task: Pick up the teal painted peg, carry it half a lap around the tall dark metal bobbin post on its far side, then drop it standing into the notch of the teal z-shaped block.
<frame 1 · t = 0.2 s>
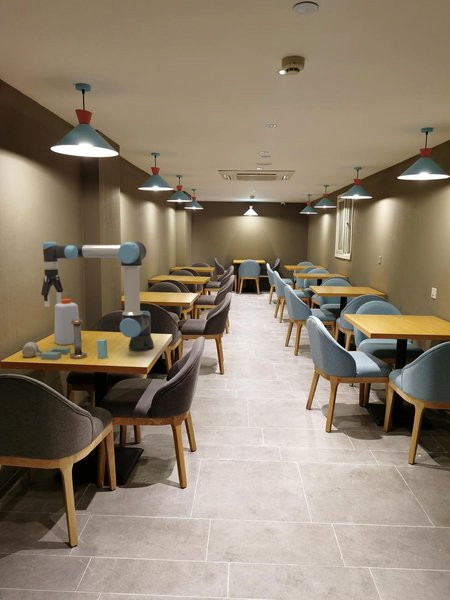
hand: (53, 304, 271), 28 cm above the table, tool pointing down, fingers open, 13 cm apart
bobbin: (78, 356, 262), on the table
plastic bottle: (68, 342, 297), on the table
teal z-shaped block: (55, 355, 264), on the table
ceramic mug: (33, 356, 264), on the table
peg: (102, 357, 260), on the table
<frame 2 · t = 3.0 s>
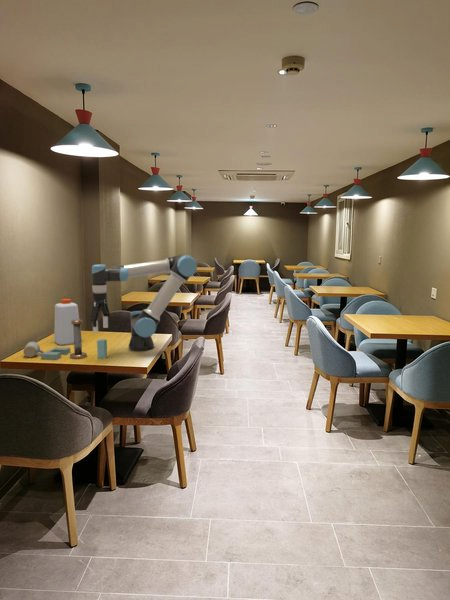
hand: (100, 330, 258), 16 cm above the table, tool pointing down, fingers open, 13 cm apart
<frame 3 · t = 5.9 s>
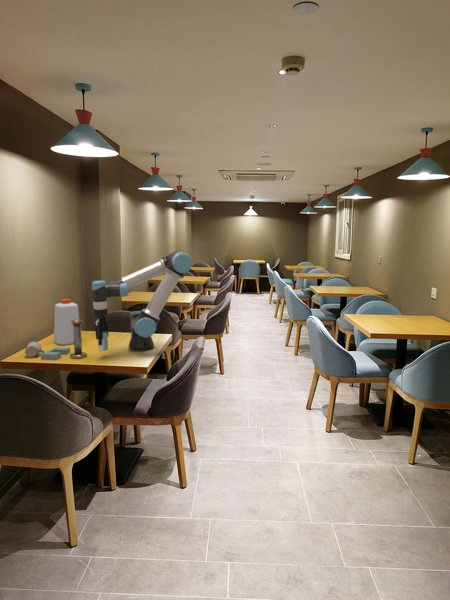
hand: (103, 349, 260), 5 cm above the table, tool pointing down, fingers closed on peg, 4 cm apart
peg: (103, 349, 260), point 4 cm above the table, touching gripper
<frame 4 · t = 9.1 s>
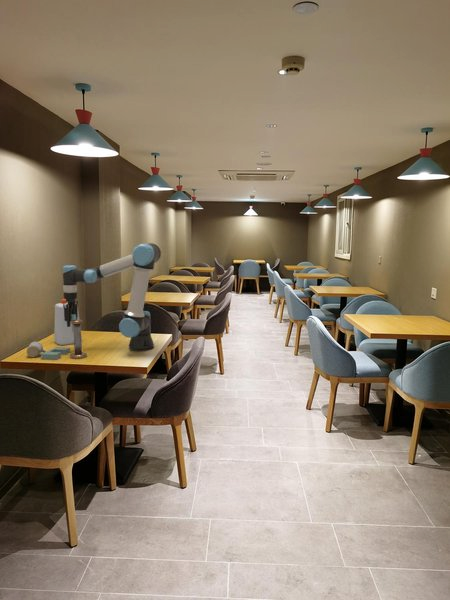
hand: (71, 331, 273), 12 cm above the table, tool pointing down, fingers closed on peg, 4 cm apart
peg: (71, 331, 273), point 12 cm above the table, touching gripper
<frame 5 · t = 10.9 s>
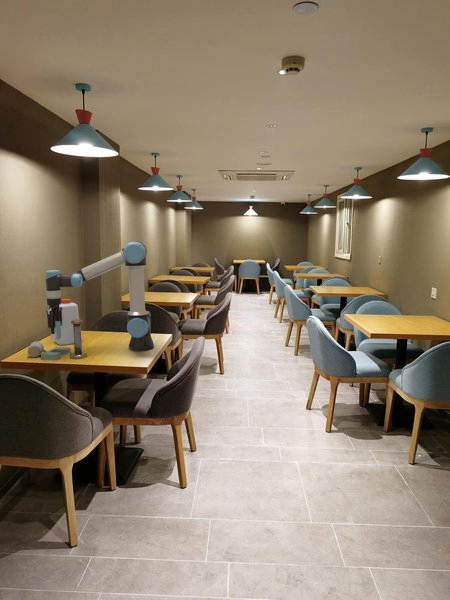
hand: (56, 338, 262), 10 cm above the table, tool pointing down, fingers closed on peg, 4 cm apart
peg: (56, 338, 262), point 10 cm above the table, touching gripper
when the fingers open (4 cm above the table, at t = 12.4 s): peg drops 4 cm, resting in teal z-shaped block.
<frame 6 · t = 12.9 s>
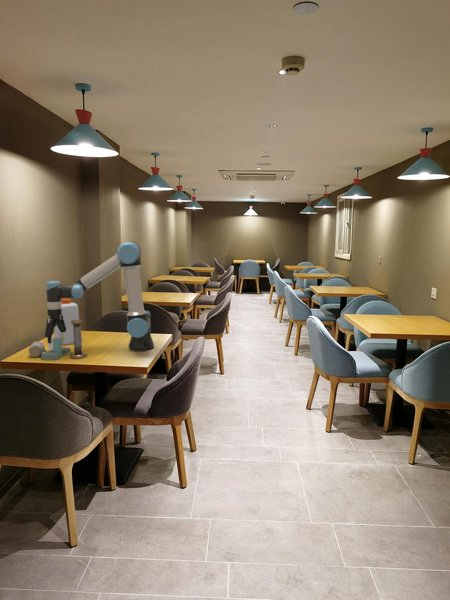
hand: (56, 345, 263), 6 cm above the table, tool pointing down, fingers open, 12 cm apart
peg: (57, 355, 264), resting in teal z-shaped block
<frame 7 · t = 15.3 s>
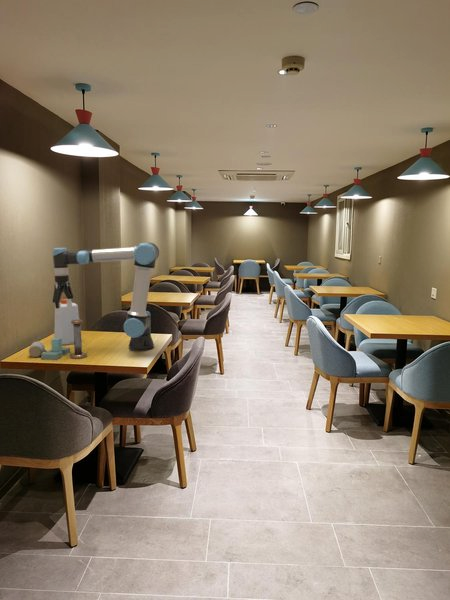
hand: (64, 311, 265), 25 cm above the table, tool pointing down, fingers open, 13 cm apart
ceramic mug: (39, 356, 264), on the table, touching teal z-shaped block
everything else where it was.
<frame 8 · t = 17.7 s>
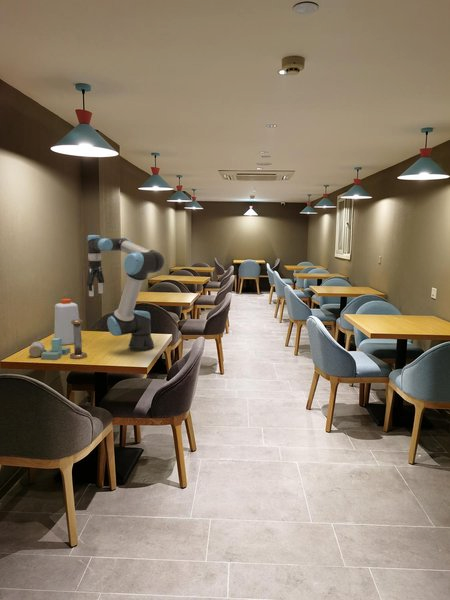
hand: (96, 294, 286), 32 cm above the table, tool pointing down, fingers open, 13 cm apart
ceramic mug: (39, 356, 264), on the table
everything else where it was.
at the end: peg 0.4 cm from the target spot on the teal z-shaped block, point 0.0 cm above the teal z-shaped block's base; peg tilted 0°; the gripper is holding nothing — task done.
